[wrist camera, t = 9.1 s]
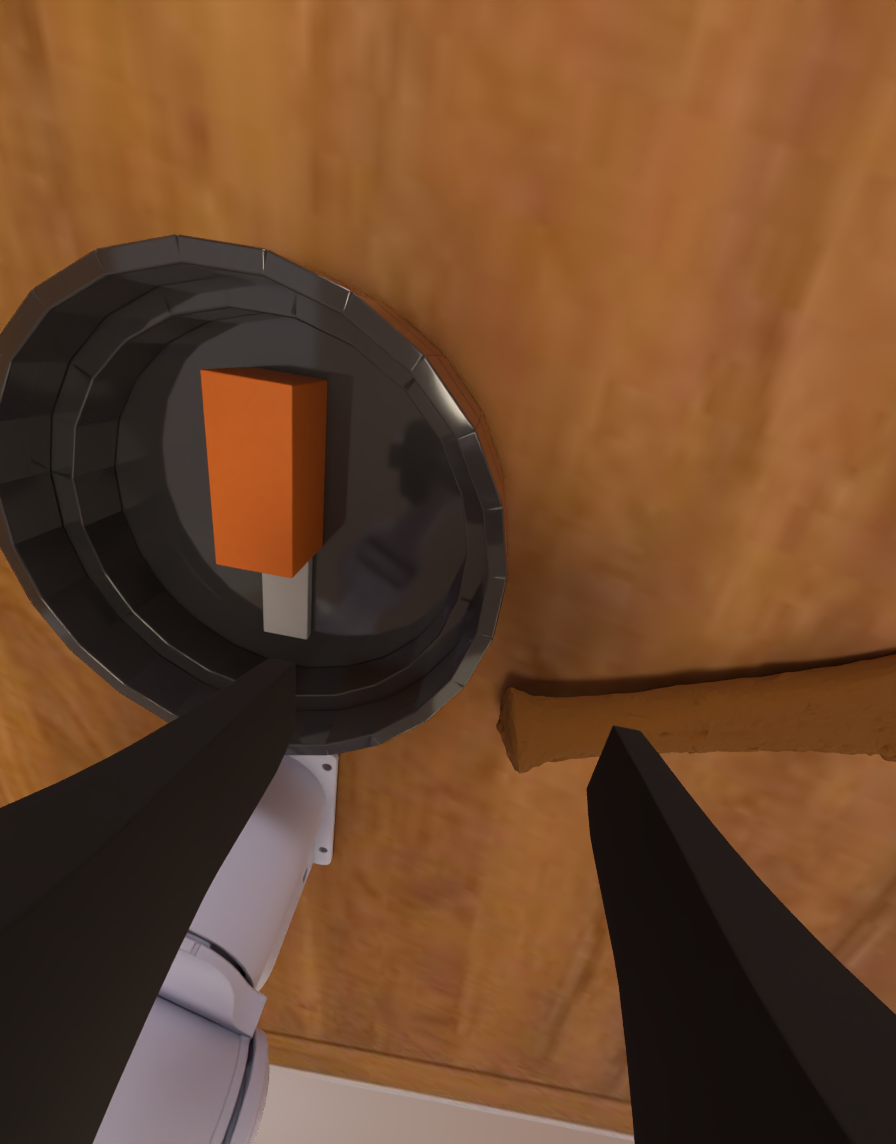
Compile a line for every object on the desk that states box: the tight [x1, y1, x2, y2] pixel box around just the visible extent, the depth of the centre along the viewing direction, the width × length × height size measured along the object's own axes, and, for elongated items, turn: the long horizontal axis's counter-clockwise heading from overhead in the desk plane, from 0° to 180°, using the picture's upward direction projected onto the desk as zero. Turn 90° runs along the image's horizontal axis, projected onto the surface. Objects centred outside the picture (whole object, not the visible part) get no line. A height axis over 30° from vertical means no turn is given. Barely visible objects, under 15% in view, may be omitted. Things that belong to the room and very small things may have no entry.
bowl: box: [0, 235, 508, 756], centre depth 17 cm, size 17×17×4 cm
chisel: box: [200, 367, 328, 639], centre depth 17 cm, size 11×3×3 cm, turn 171°
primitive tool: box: [496, 654, 896, 773], centre depth 19 cm, size 19×6×4 cm, turn 100°
